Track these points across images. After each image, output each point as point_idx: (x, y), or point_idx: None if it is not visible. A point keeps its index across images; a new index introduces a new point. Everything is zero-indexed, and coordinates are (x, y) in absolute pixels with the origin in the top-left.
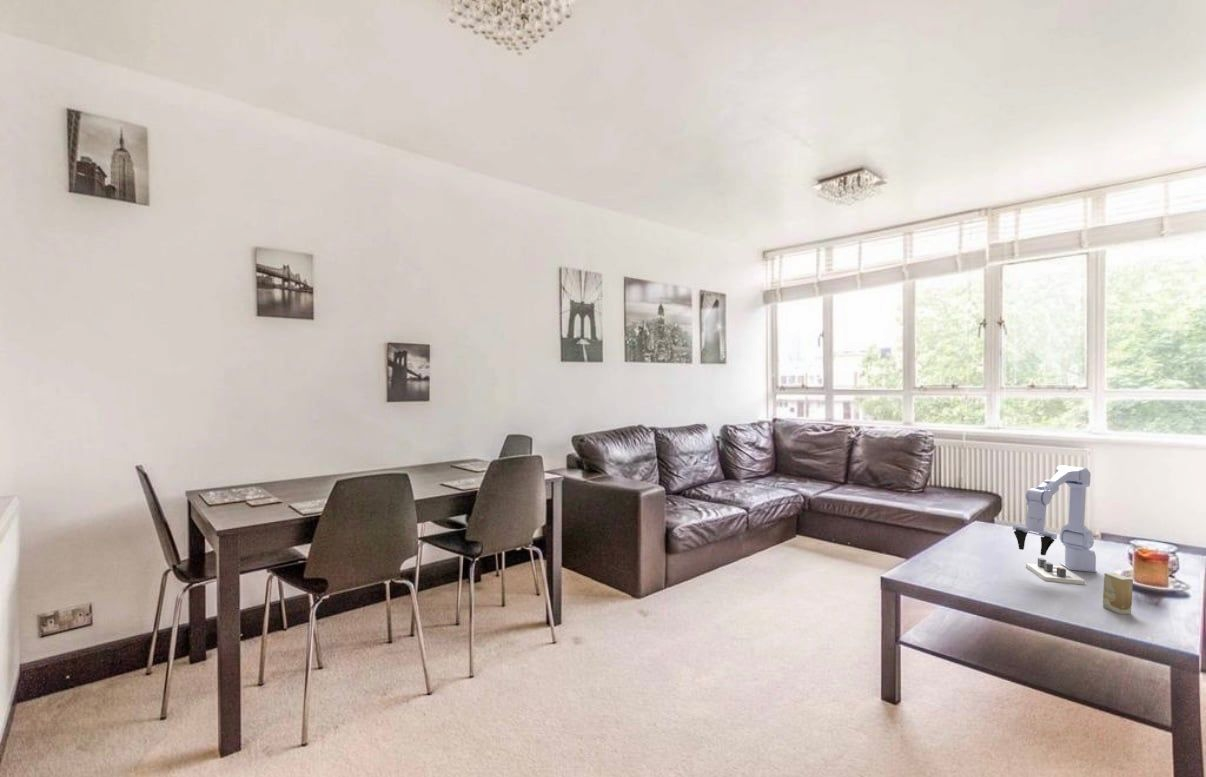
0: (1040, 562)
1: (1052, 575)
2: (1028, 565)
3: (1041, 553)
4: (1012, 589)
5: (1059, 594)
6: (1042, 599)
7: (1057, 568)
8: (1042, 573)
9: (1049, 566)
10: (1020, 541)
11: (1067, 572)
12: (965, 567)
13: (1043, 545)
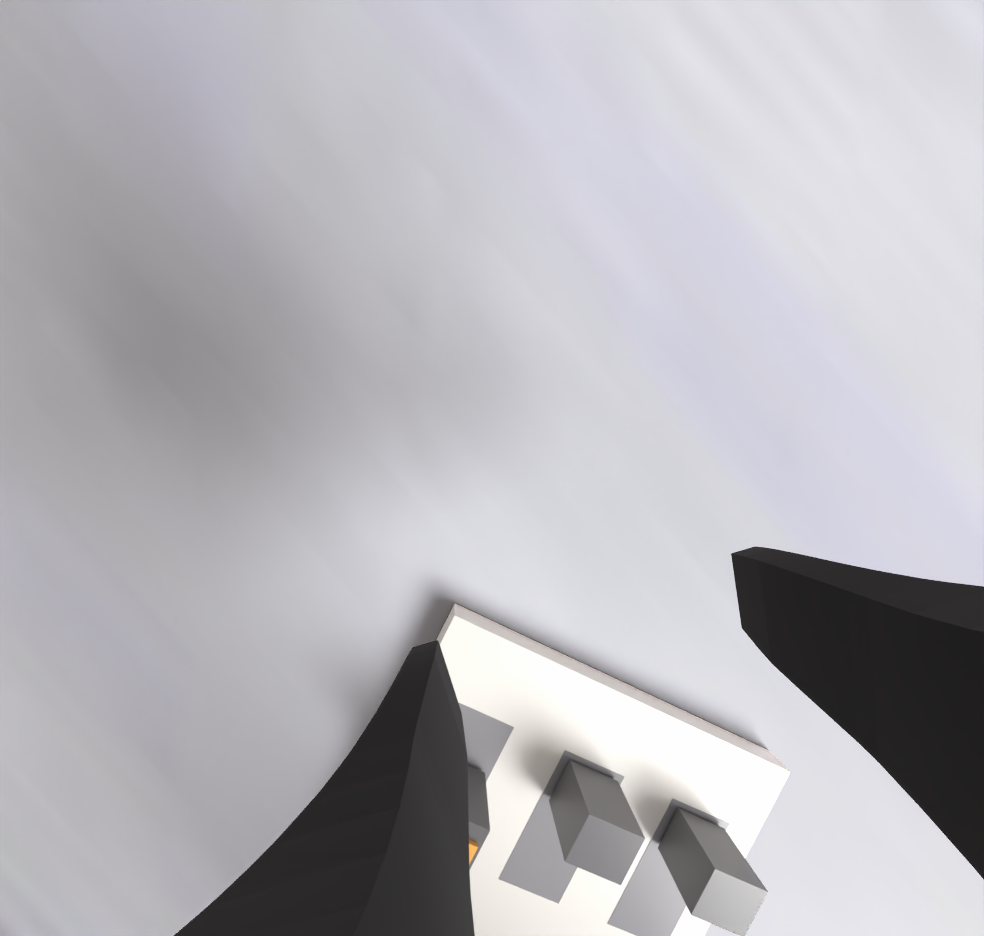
0: (700, 844)
1: (476, 715)
2: (743, 748)
3: (420, 651)
4: (312, 93)
5: (152, 411)
6: (62, 136)
7: (475, 815)
8: (537, 673)
9: (573, 815)
10: (856, 599)
11: (523, 926)
12: (854, 181)
13: (360, 772)
